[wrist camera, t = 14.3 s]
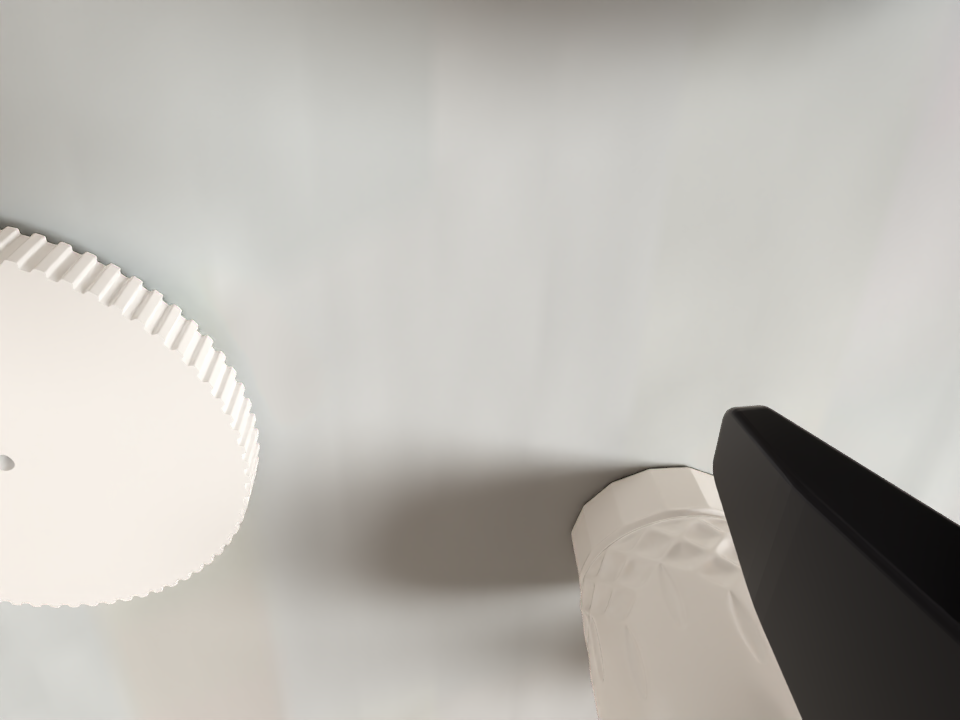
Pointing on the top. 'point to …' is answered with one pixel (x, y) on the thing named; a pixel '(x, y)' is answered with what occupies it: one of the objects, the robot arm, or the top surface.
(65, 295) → the white gear
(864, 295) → the top surface
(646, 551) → the white cup
